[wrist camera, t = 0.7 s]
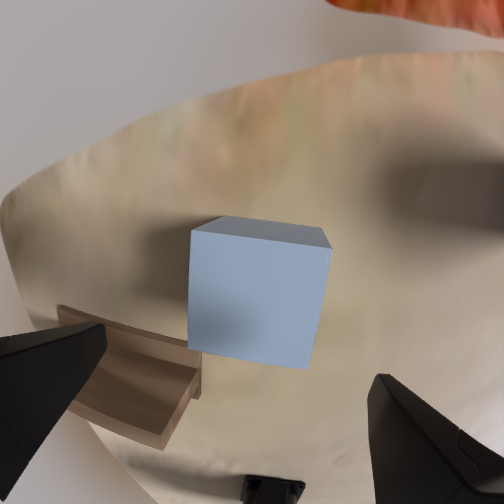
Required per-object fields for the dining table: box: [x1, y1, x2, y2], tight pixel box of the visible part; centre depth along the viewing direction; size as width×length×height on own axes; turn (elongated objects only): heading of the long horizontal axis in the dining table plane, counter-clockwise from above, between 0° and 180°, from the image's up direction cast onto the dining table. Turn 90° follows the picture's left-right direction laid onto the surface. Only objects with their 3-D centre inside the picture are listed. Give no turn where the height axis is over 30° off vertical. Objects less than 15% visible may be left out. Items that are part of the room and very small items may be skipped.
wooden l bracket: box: [56, 305, 202, 451], centre depth 18 cm, size 5×14×8 cm, turn 84°
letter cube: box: [188, 216, 332, 369], centre depth 16 cm, size 6×6×6 cm
